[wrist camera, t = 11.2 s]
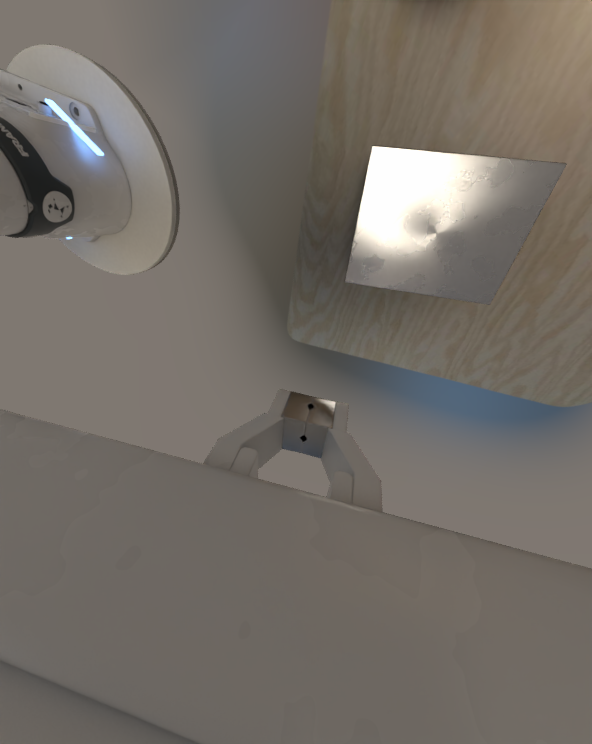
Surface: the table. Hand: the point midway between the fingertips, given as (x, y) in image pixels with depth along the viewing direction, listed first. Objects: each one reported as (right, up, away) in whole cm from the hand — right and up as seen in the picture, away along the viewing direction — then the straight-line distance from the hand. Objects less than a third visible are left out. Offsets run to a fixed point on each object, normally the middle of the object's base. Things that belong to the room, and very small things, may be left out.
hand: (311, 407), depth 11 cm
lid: (+14, +16, +16) cm, 27 cm away
